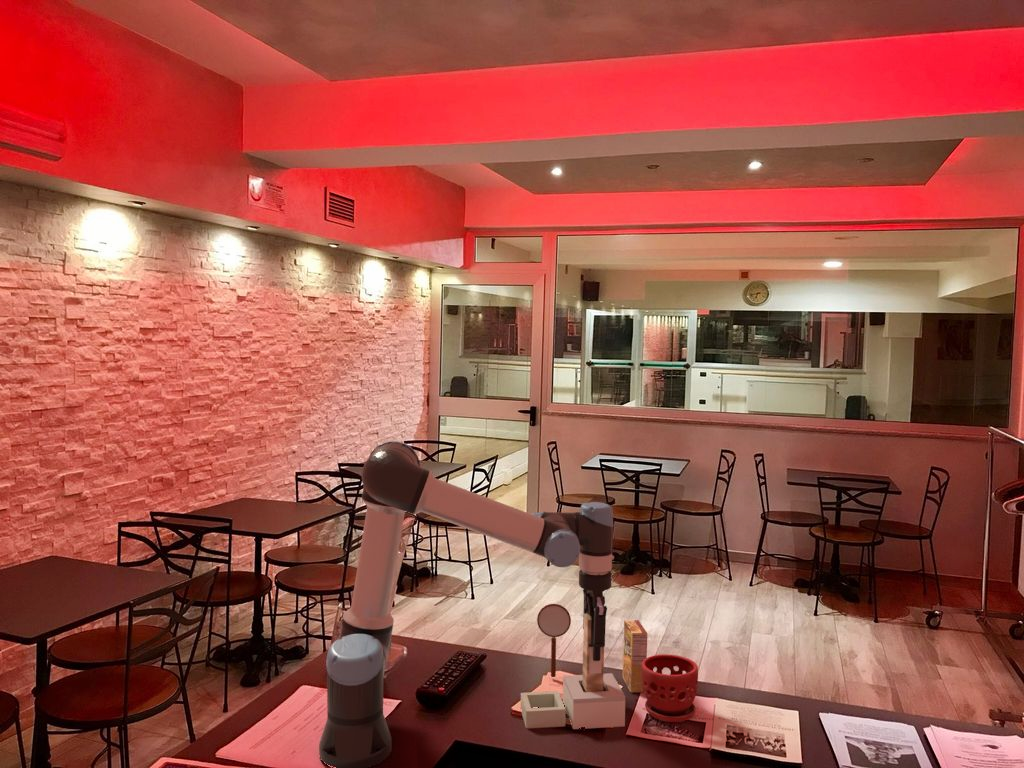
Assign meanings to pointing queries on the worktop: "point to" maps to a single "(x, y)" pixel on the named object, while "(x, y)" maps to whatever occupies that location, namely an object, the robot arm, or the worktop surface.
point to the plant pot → (669, 687)
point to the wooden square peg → (589, 680)
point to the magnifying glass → (553, 627)
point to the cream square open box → (542, 709)
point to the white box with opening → (594, 703)
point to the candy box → (634, 654)
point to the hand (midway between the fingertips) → (592, 668)
